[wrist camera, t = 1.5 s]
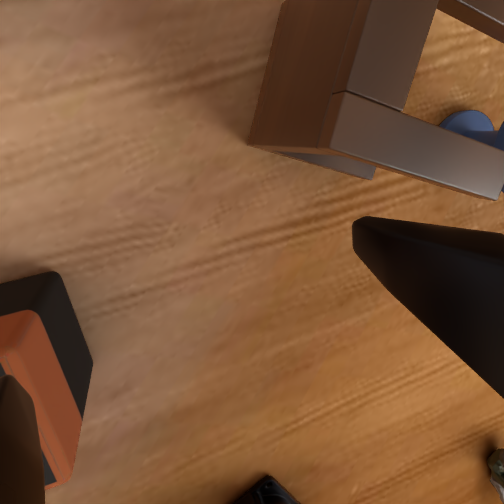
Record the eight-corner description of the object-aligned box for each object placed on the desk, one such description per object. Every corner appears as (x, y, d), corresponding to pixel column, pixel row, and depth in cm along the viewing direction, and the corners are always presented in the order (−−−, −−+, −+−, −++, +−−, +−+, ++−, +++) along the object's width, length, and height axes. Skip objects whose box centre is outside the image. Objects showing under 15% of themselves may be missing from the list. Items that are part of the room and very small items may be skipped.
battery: (59, 267, 22) (4, 359, 12) (96, 364, 24) (71, 504, 15) (-24, 287, 21) (-150, 404, 12) (22, 387, 23) (-53, 551, 14)
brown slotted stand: (400, 55, 24) (578, -1, 14) (362, 178, 26) (497, 201, 16) (282, 3, 21) (404, -112, 12) (246, 145, 23) (328, 148, 13)
